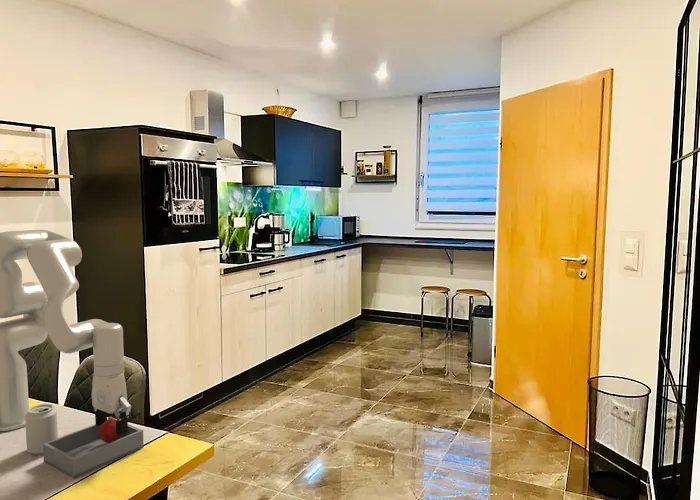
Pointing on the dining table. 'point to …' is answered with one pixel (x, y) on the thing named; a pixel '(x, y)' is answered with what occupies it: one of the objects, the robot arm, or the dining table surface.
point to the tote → (89, 450)
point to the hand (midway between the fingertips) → (111, 428)
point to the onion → (109, 431)
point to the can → (40, 427)
